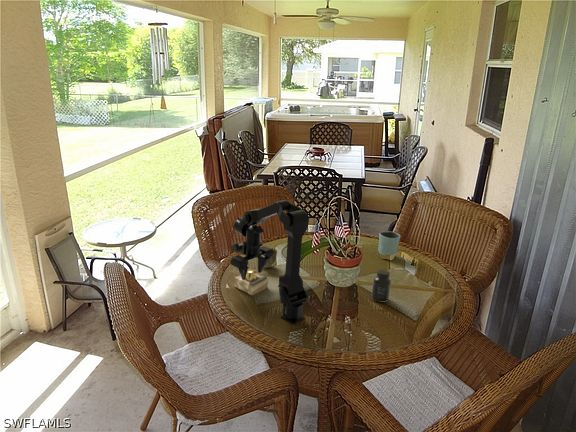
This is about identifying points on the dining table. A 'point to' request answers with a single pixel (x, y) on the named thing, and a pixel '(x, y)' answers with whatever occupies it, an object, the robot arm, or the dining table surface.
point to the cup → (271, 259)
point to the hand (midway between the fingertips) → (251, 276)
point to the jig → (252, 284)
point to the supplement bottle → (381, 286)
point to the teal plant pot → (388, 242)
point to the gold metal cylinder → (251, 275)
